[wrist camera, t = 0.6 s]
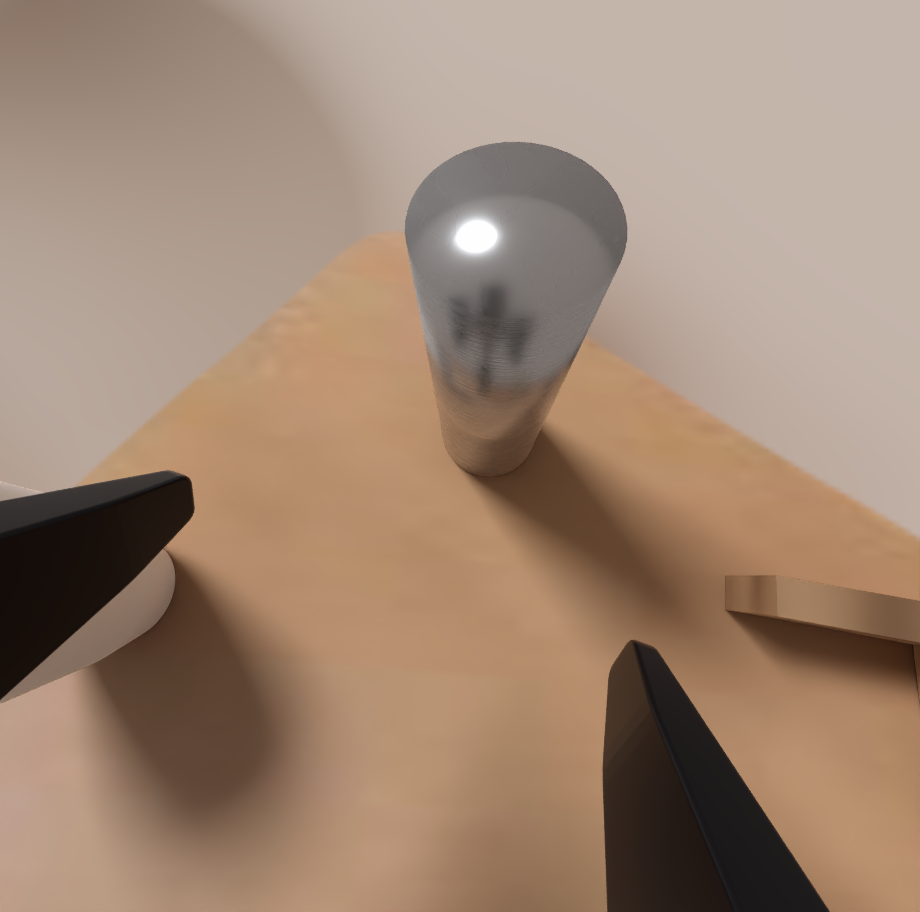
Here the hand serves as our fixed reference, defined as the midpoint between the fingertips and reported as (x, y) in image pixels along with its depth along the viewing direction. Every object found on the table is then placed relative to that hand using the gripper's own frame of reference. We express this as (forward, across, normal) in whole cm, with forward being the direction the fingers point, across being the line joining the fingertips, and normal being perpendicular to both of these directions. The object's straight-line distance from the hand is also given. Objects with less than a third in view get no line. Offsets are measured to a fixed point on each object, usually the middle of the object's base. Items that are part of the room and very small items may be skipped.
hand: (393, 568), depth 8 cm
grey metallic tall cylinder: (+15, 0, +4) cm, 15 cm away
